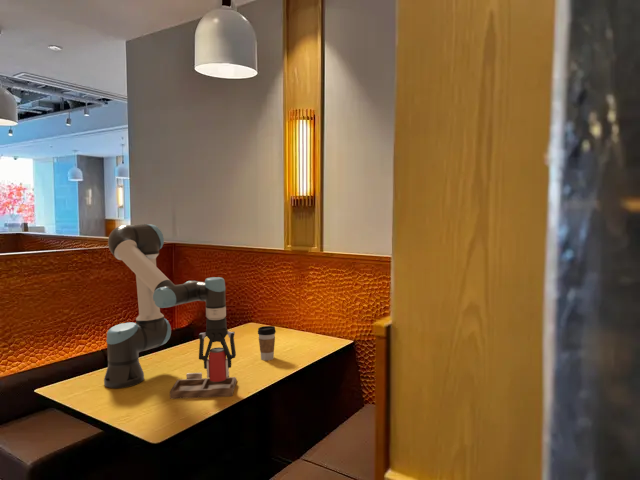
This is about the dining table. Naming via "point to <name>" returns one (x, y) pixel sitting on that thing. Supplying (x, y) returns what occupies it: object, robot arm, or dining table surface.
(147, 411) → the dining table surface
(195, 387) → the brown desk organizer
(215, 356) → the beer can
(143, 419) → the dining table surface
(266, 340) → the coffee cup
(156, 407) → the dining table surface
